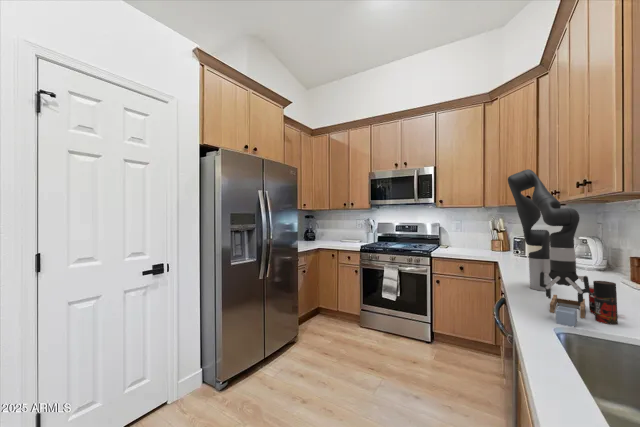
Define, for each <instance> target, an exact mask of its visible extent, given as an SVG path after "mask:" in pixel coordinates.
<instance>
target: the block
mask: <svg viewBox="0 0 640 427" xmlns="http://www.w3.org/2000/svg"><path fill="white" fill-rule="evenodd" d="M555 315H556V316H555V317H556V319H555V320H556V324H557V325H563V326H566V325H568V326H567V327H571V326H574V327H573V328H576V326H577V323H578V309H575V308H569V307H563V306H557V308H556V309H555ZM575 325H576V326H575Z"/></svg>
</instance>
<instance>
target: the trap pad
mask: <svg viewBox="0 0 640 427" xmlns="http://www.w3.org/2000/svg"><path fill="white" fill-rule="evenodd" d="M559 306H563V307H569V308H575V309H577V310H580V306H577V305H570V304H564V303H557V307H559Z"/></svg>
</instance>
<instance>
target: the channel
mask: <svg viewBox="0 0 640 427" xmlns="http://www.w3.org/2000/svg"><path fill="white" fill-rule="evenodd" d="M585 300H586V299H585V298H583V302H581V304H580V303H578V300H574V299H573V300H572V299H567V298H559V297H558V295H557V294H553V296H551V300H550V303H549V312H550V313H553V314H554V313H555V312H556V309H557V306H558V303H564V304H570V305H577V306H580V309H579V310H580V311H579V312H580V313H579V314H580V318H581V319H586V301H585Z"/></svg>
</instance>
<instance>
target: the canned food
mask: <svg viewBox="0 0 640 427" xmlns="http://www.w3.org/2000/svg"><path fill="white" fill-rule="evenodd" d="M589 289H590V292H589V293H588V306H589V308H588V309H589V311H590V313H591V314H594V315H595V307H594V285H593V284H589ZM617 295H618V294H617V292H616V296H617Z"/></svg>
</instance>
